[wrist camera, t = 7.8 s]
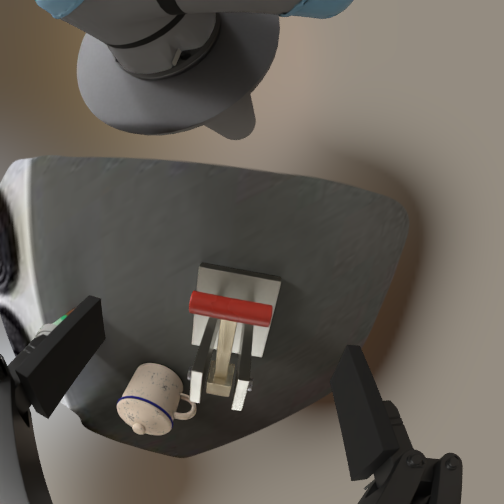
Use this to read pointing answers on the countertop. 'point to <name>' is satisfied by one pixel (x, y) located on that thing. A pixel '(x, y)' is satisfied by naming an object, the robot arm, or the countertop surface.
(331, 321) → the countertop surface
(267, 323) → the lever
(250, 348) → the bracket
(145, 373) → the teacup with lid
